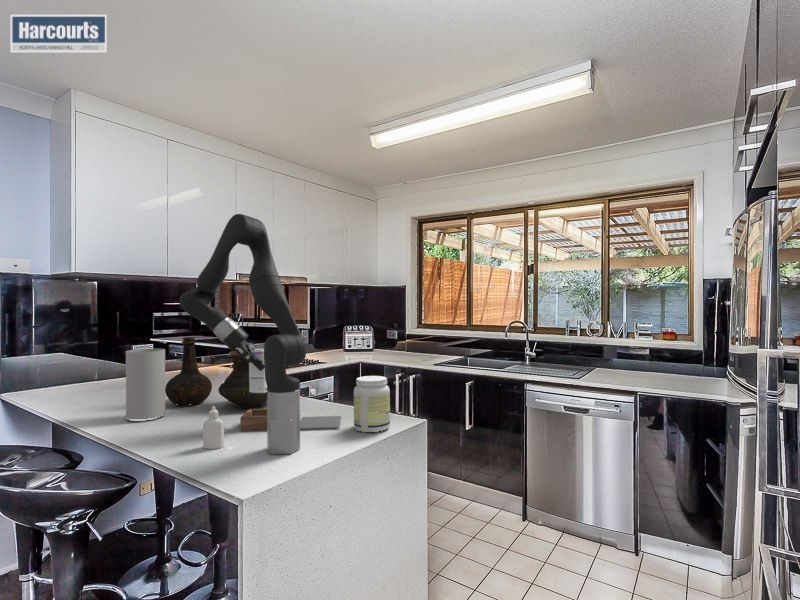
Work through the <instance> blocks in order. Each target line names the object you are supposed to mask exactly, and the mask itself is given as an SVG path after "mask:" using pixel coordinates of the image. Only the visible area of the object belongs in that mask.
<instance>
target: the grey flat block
mask: <svg viewBox="0 0 800 600" xmlns="http://www.w3.org/2000/svg"><path fill="white" fill-rule="evenodd" d="M340 420H342V416H341V415H326V416H325V415H321V416H319V415H318V416H317V415H316V416H301V417H300V431H321V430H322V429H331V430H338V429H337V428H339V429H340V427H341V426H340V425H341V421H340ZM339 426H340V427H339ZM322 431H323V430H322Z"/></svg>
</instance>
